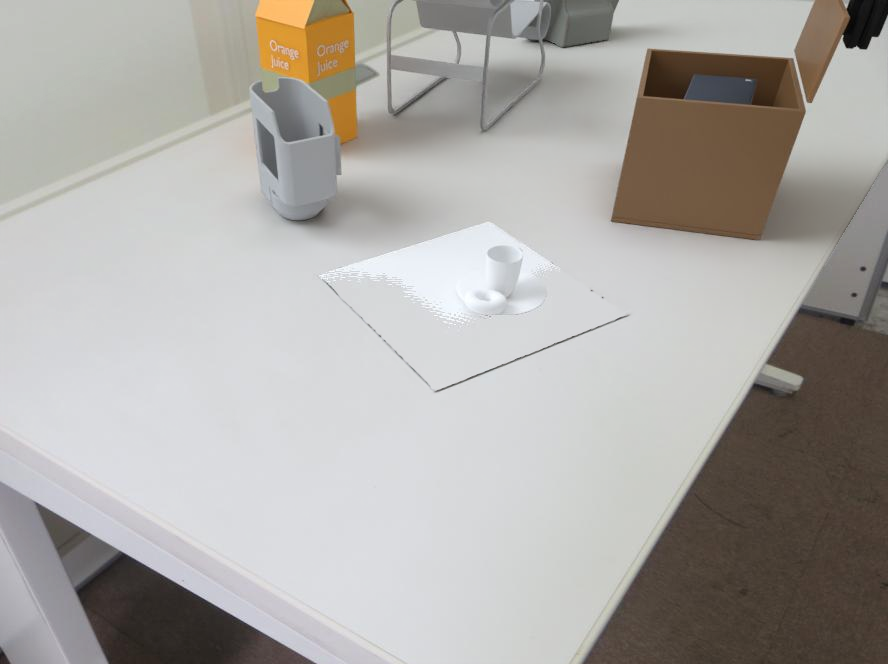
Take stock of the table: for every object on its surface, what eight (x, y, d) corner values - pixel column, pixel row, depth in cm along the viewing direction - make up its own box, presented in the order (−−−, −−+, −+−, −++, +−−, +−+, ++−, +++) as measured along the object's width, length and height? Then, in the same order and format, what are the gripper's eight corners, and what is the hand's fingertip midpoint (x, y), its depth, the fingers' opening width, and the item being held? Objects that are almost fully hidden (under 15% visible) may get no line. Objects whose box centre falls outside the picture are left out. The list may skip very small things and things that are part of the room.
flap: (793, 50, 76) (798, 51, 75) (806, 102, 65) (811, 103, 65) (825, -27, 71) (830, -26, 71) (845, 16, 60) (850, 17, 60)
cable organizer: (289, 237, 77) (278, 120, 69) (252, 189, 86) (238, 80, 78) (349, 223, 79) (345, 107, 71) (307, 177, 88) (299, 69, 80)
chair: (385, 120, 100) (384, -50, 87) (460, 64, 116) (469, -87, 103) (479, 137, 95) (494, -42, 82) (545, 75, 111) (565, -82, 98)
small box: (667, 167, 86) (692, 70, 79) (729, 176, 83) (760, 77, 76) (651, 207, 78) (677, 105, 72) (718, 219, 76) (752, 114, 69)
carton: (753, 176, 84) (793, 57, 76) (759, 240, 74) (806, 111, 66) (623, 162, 88) (647, 48, 80) (610, 221, 78) (637, 97, 69)
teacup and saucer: (484, 332, 64) (488, 291, 61) (431, 289, 69) (433, 249, 66) (565, 302, 67) (572, 261, 64) (508, 262, 72) (513, 223, 69)
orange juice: (311, 120, 101) (300, -52, 88) (358, 137, 96) (353, -43, 83) (266, 137, 97) (247, -40, 84) (313, 156, 92) (300, -29, 79)
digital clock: (607, 26, 129) (620, -45, 122) (631, 41, 122) (645, -33, 115) (515, 34, 127) (523, -38, 120) (534, 50, 120) (543, -25, 113)
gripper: (1063, -227, 56) (941, 38, 68) (837, -223, 60) (760, 27, 72) (1099, -223, 51) (961, 64, 63) (850, -218, 55) (764, 51, 67)
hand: (854, 44), depth 67 cm, fingers closed
